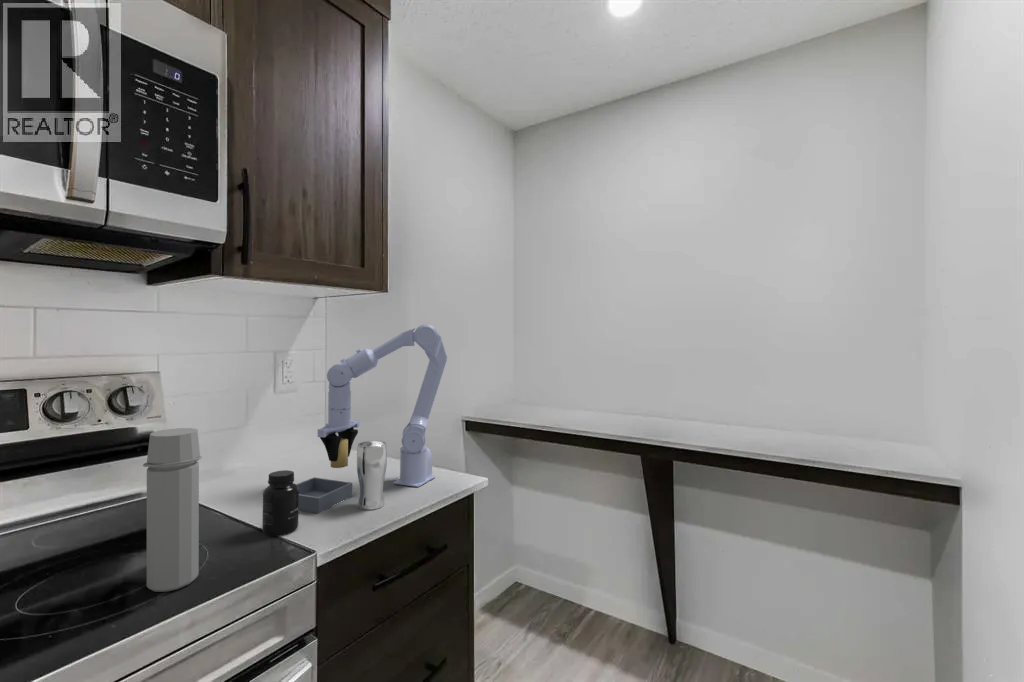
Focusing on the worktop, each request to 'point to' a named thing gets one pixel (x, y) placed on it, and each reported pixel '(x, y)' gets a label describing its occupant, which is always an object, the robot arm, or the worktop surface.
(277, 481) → the supplement bottle
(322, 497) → the bin
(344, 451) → the peg
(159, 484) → the water bottle
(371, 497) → the beer glass
